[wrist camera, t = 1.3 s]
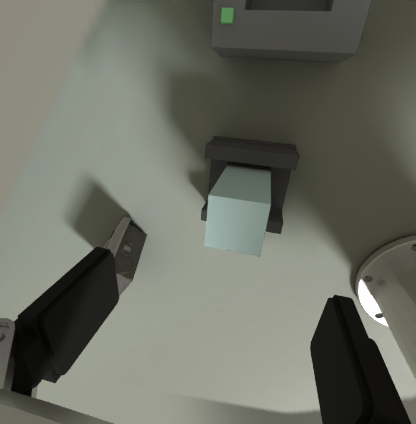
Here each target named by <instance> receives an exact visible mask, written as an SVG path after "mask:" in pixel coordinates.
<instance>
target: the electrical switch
mask: <svg viewBox="0 0 416 424" xmlns="http://www.w3.org/2000/svg"><path fill="white" fill-rule="evenodd" d="M130 221H131V219H130V218H128V217H126V216H125V217H124V218H123V219H122V220H121V221H120V223H119V224H118V226H117V227H116V229H115V230H114V232H113V234H112V235H111V237H110V238H109V240H108V241H107V243H106V244H105V246H104V247H103V248H106V249H110V250H111V253H113V254H114V260H115V267H116V275H117V283H118V291H119V296H120V295H121V294H122V292H123V291H124V290H125V289H126V288H127V287H128V285H129V284H130V283H131V282H132V280H133V277H134V274H135V271H136V268H137V265H138V262H139V258H140V255H141V252H142V249H143V246H144V243H145V239H146V236H147V234H145V233H143V232H141V231H139V230H138V229H137V228H135V227H133V226H131V225H130V224H129V222H130ZM131 270H132V271H131ZM126 277H127V278H126ZM131 279H132V280H131Z"/></svg>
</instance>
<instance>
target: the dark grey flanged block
mask: <svg viewBox="0 0 416 424" xmlns="http://www.w3.org/2000/svg"><path fill="white" fill-rule="evenodd" d="M205 158H207V159H211V170H210V183H209V193H210V192H211V190H212V189H213V187H214V185H215V184H216V182H217V181H218V179H219V178H220V176H221V174H222V173H223V171H224V170H225V168H226V165H227V164H228V162H229V161H230V162H238V163H246V164H254V165H262V166H270V167H271V206H270V211H269V216H268V221H267V226H266V231H267V232H272V233H278V234H281V230H282V226H283V217H282V207H283V203H284V198H285V194H286V190H287V185H288V181H289V176H290V172H291V169H293V170H296V167H297V163H298V158H299V155H298V153H297V151H296V145H290V144H281V143H272V142H263V141H254V140H245V139H236V138H227V137H218V136H215V137H213V140H212V141H210V142H209V143H208V144H206V149H205ZM207 208H208V200H207V202H206V203H205V205H204V206H203V208H202V210H201V220H203V221H207Z"/></svg>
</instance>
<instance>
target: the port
mask: <svg viewBox="0 0 416 424" xmlns="http://www.w3.org/2000/svg"><path fill="white" fill-rule="evenodd" d="M371 1H372V0H214V2H213V18H212V34H211V48H212V49H214V50H215V51H216V52H217V53H218V54H220V55H221V56H228V57H248V58H267V59H287V60H306V61H326V62H341V61H343V60H345V59H347V58H349V57H351V56H353V55H354V54H356V53H357V50H358V46H359V43H360V40H361V36H362V33H363V29H364V26H365V22H366V19H367V15H368V12H369V8H370V5H371Z"/></svg>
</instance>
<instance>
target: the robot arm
mask: <svg viewBox="0 0 416 424" xmlns="http://www.w3.org/2000/svg"><path fill="white" fill-rule="evenodd" d="M355 291H356V294H357V297H358V300H359V302H360V304H361V306H362V308H363V309H364V310H365V311H366V312H367V314H368V315H370V316H371V317H372V318H373V319H375V320H376V321H378V322H380V323H382V324H383V325H386V326H388V327H389V329H390V330H391V332H392V334H393V336H394V338H395V340H396V342H397V344H398V346H399V348H400V350H401V352H402V354H403V356H404V358H405V359H406V361H407V363H408V365H409V367H410V369H411V371H412V373H413V375H414V377H415V379H416V235H413V236H410V237H406V238H402V239H399V240H396V241H394V242H392V243H389V244H387V245H385V246H384V247H382V248H380V249H379V250H377V251H376V252H374V253H373V254H372V255H371V256H370V257H368V258H367V260H366V261H365V262H364V263H363V265H362V266H361V268H360V269H359V271H358V273H357V277H356V281H355ZM118 300H119V291H118V283H117V275H116V267H115V260H114V254H113V253H111V250H110V249H106V248H101V247H96V248H95V249H93V250H92V251H91V252H90V253H89V254H88V255H87V256H85V257H84V258H83V259H82V260H81V261H80V262H79V263H77V264H76V265H75V266H74V267H73V268H72V269H71V270H69V271H68V272H67V273H66V274H65V275H64V276H63V277H61V278H60V279H59V280H58V281H57V282H56V283H55V284H53V285H52V286H51V287H50V288H49V289H48V290H47V291H45V292H44V293H43V294H42V295H41V296H40V297H39V298H38V299H36V300H35V301H34V302H33V303H32V304H31V305H30V306H28V307H27V308H26V309H25V310H24V311H23V312H22V313H20V314H19V315H18V319H16V320H15V321H14V322H13V321H12V320H10V319H8V318H0V424H113V423H110V422H107V421H104V420H101V419H98V418H95V417H92V416H89V415H86V414H83V413H80V412H77V411H73V410H71V409H68V408H65V407H61V406H58V405H55V404H52V403H49V402H46V401H43V400H39V399H36V394H37V385H38V384H39V383H40V382H41V380H42V379H43V380H46V381H50V382H53V383H56V382H57V380H58V379H59V377H60V376H61V375H64V374H66V373H67V372H68V370H69V369H70V368H71V366H72V365H73V363H74V362H75V361H76V359H77V358H78V357H79V355H80V354H81V352H82V351H83V350H84V348H85V347H86V346H87V344H88V343H89V341H90V340H91V339H92V337H93V336H94V335H95V333H96V332H97V331H98V329H99V328H100V326H101V325H102V324H103V322H104V321H105V320H106V318H107V317H108V315H109V314H110V313H111V311H112V310H113V309H114V307H115V306H116V304H117V303H118ZM310 350H311V357H312V363H313V369H314V375H315V381H316V387H317V393H318V398H319V404H320V410H321V416H322V422H323V424H411V422H410V420H409V417H408V415H407V413H406V410H405V408H404V406H403V404H402V401H401V399H400V397H399V394H398V392H397V390H396V388H395V385H394V383H393V381H392V378H391V376H390V374H389V372H388V369H387V367H386V365H385V362H384V360H383V358H382V356H381V353H380V351H379V349H378V346H377V345H376V343H375V341H374V340H372V339H370V338H368V335H367V333H366V330H365V328H364V326H363V323H362V321H361V318H360V316H359V314H358V311H357V309H356V306H355V304H354V302H353V300H352V299H351V298H348V297H343V296H338V295H334V296H333V298H328V300H327V303H326V305H325V308H324V310H323V313H322V315H321V318H320V320H319V323H318V325H317V328H316V330H315V333H314V336H313V338H312V341H311V346H310Z"/></svg>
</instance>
